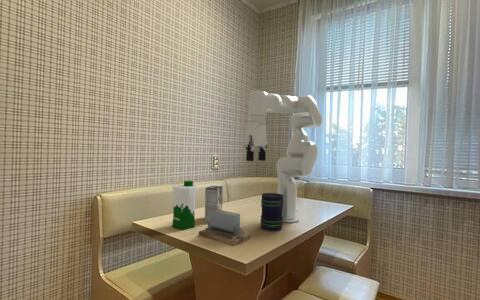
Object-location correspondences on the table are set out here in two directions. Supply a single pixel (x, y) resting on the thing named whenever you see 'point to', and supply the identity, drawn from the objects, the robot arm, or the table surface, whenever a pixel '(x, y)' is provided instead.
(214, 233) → the dock
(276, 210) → the storage jar
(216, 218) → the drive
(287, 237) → the table surface
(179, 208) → the milk carton
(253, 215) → the table surface
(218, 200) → the coffee box
